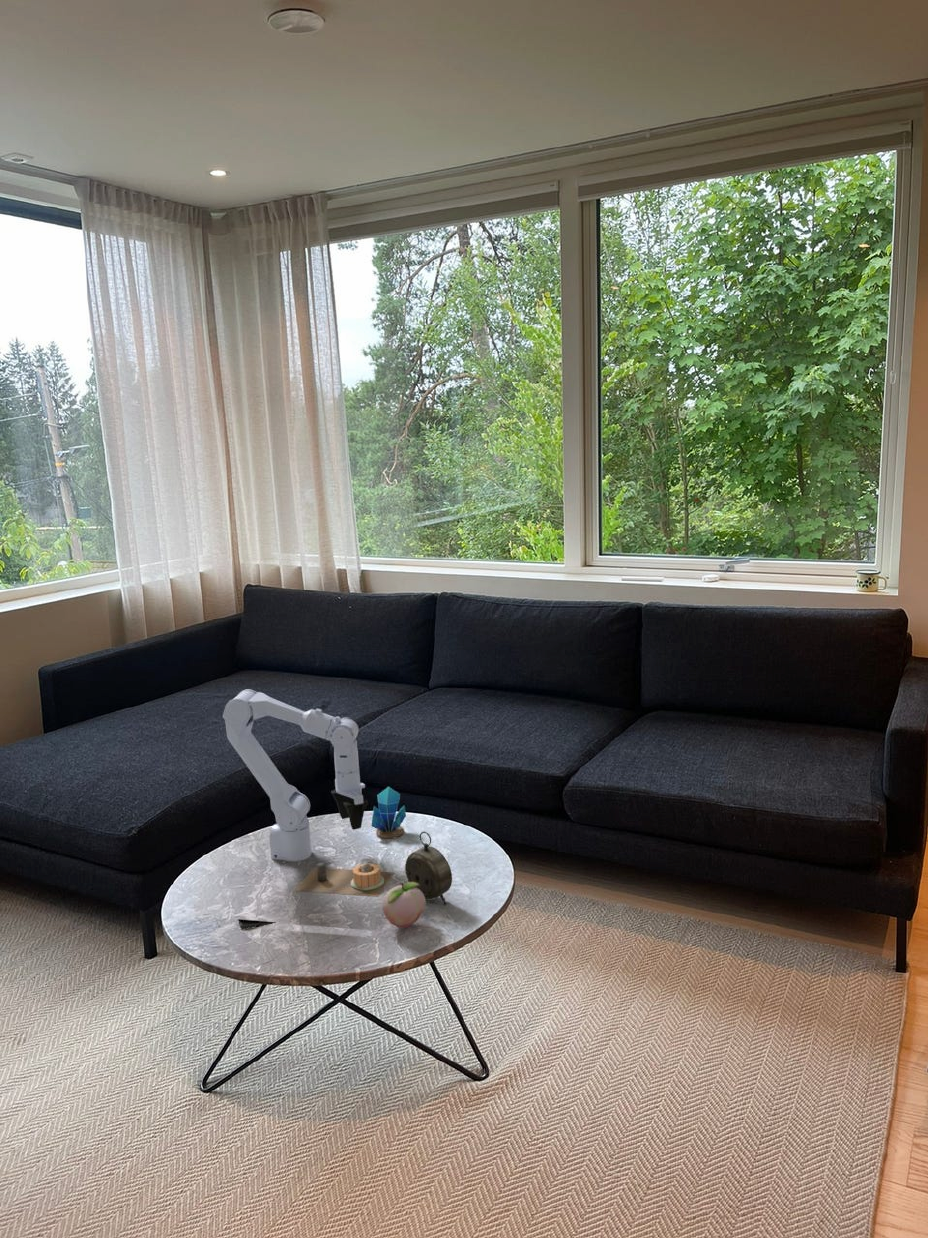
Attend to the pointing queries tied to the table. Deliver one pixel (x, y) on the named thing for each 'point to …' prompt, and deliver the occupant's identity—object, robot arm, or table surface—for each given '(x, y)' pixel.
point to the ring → (366, 876)
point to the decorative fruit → (403, 904)
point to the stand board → (340, 881)
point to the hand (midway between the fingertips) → (351, 823)
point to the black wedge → (252, 923)
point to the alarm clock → (429, 871)
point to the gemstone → (388, 815)
